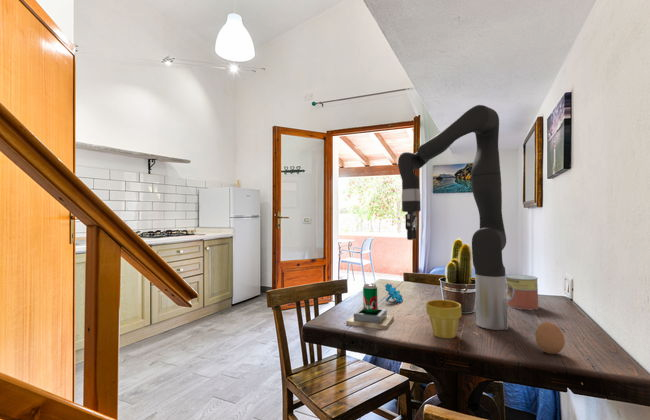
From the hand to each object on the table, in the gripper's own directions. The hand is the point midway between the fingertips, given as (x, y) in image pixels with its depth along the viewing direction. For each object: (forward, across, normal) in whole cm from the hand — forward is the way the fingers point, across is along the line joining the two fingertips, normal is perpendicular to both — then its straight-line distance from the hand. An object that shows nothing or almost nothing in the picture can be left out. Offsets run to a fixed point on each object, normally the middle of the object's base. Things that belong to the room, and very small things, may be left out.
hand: (411, 239), depth 134 cm
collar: (+27, -25, +11) cm, 38 cm away
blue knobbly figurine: (+28, +7, +9) cm, 31 cm away
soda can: (+27, -25, +11) cm, 38 cm away
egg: (+28, -33, -41) cm, 60 cm away
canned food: (+28, +18, -41) cm, 53 cm away
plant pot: (+28, -29, -14) cm, 43 cm away
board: (+28, -25, +11) cm, 39 cm away
